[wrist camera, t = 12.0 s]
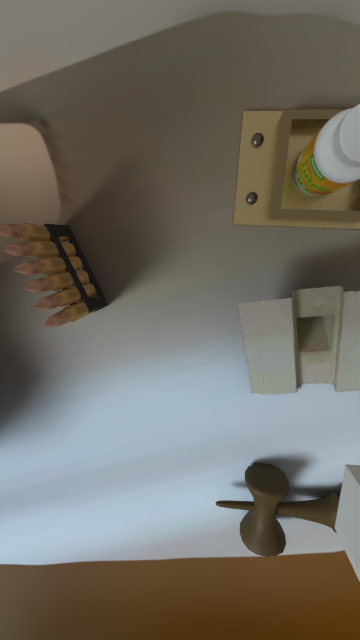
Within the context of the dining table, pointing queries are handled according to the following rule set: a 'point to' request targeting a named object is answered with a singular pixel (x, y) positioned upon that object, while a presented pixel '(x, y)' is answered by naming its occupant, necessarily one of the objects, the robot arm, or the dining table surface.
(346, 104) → the dining table surface
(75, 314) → the ammunition clip
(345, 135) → the supplement bottle
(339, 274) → the dining table surface
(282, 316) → the grey tablet stand
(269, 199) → the wooden holder tray
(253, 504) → the kendama
